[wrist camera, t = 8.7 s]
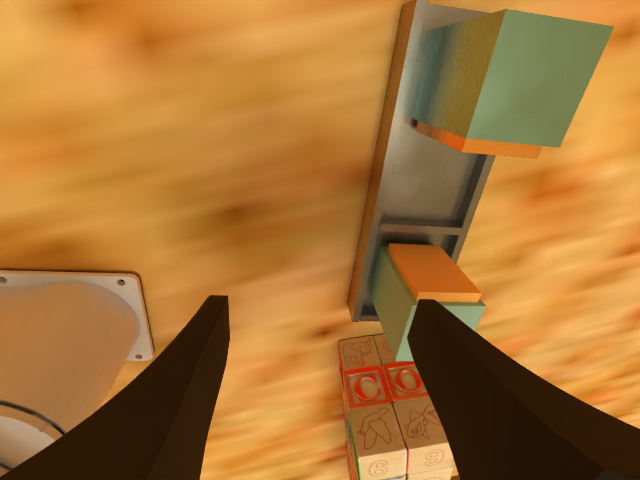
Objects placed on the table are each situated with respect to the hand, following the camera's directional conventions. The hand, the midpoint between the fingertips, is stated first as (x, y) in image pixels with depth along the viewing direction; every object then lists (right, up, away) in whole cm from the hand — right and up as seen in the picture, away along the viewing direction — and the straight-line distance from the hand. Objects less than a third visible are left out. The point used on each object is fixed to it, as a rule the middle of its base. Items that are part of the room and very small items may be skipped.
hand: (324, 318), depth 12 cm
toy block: (+6, +1, +10) cm, 12 cm away
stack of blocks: (+5, -14, +20) cm, 25 cm away
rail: (+6, +6, +9) cm, 12 cm away
